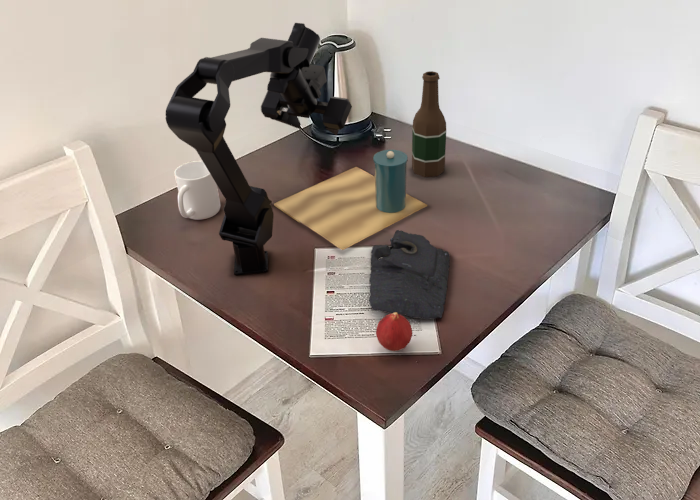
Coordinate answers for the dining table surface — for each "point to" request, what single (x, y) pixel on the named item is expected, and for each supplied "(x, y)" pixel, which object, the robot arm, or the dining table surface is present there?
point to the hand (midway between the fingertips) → (317, 129)
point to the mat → (344, 208)
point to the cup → (196, 191)
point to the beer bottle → (429, 131)
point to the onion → (394, 332)
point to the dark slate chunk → (409, 277)
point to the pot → (390, 180)
